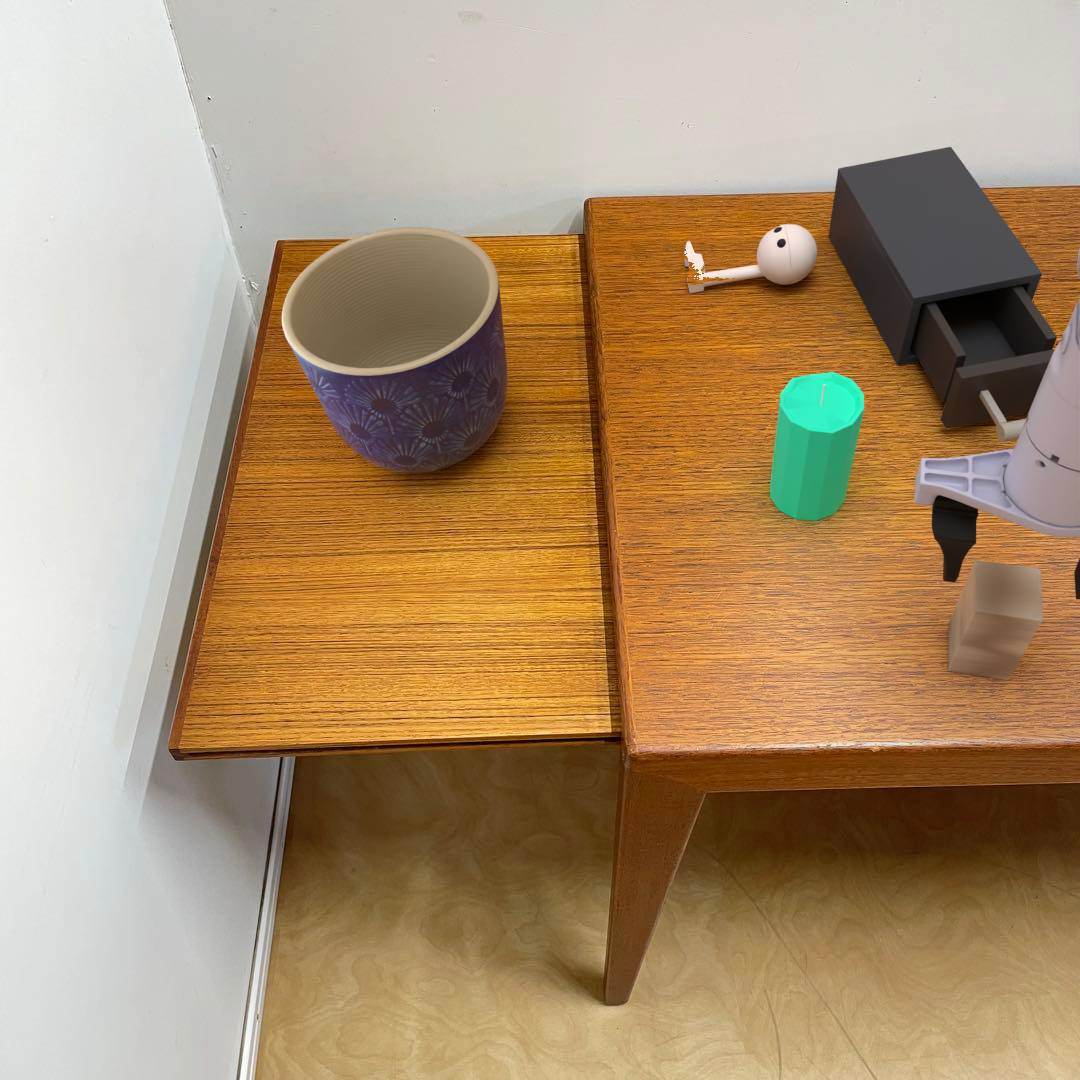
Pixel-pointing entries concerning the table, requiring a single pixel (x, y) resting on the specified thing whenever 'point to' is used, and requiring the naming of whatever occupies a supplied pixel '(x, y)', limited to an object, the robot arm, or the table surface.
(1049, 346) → the drawer
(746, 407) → the table surface
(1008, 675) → the block
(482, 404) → the planter
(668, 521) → the table surface
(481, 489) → the table surface
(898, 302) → the cabinet
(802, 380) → the candle
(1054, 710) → the table surface
